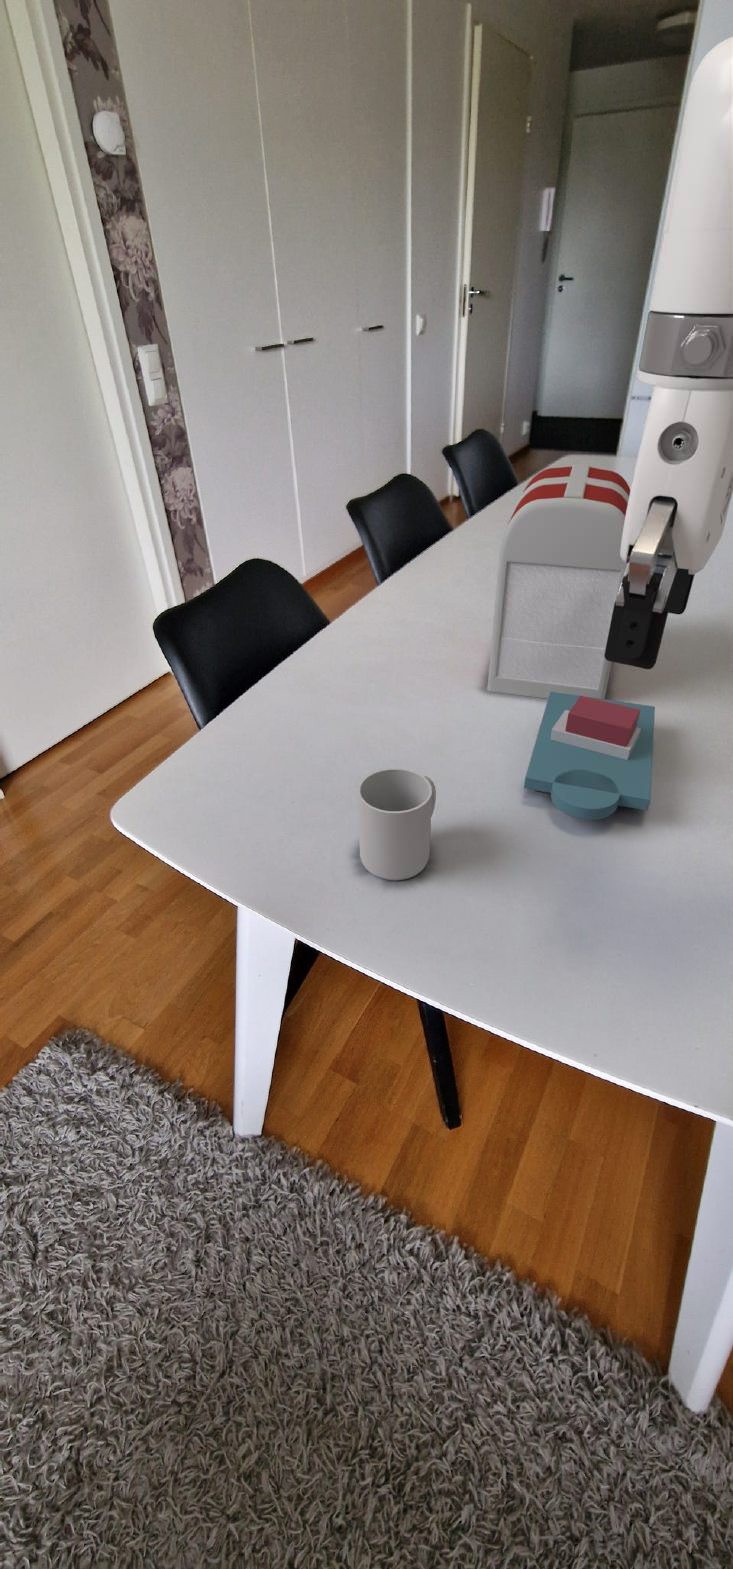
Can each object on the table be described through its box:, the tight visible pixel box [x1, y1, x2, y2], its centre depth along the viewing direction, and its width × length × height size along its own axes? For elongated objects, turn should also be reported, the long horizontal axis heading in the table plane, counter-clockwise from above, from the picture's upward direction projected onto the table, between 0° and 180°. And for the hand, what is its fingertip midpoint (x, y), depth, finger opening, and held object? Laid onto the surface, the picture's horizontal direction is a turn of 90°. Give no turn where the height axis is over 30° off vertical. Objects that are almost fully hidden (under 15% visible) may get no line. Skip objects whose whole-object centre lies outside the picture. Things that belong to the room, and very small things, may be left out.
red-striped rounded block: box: [486, 463, 631, 700], centre depth 97 cm, size 16×18×27 cm
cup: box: [356, 767, 437, 881], centre depth 71 cm, size 7×10×9 cm
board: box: [523, 692, 656, 821], centre depth 83 cm, size 24×13×4 cm, turn 161°
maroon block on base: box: [551, 696, 641, 760], centre depth 81 cm, size 9×5×4 cm, turn 60°
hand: (646, 634), depth 49 cm, fingers open, 9 cm apart
